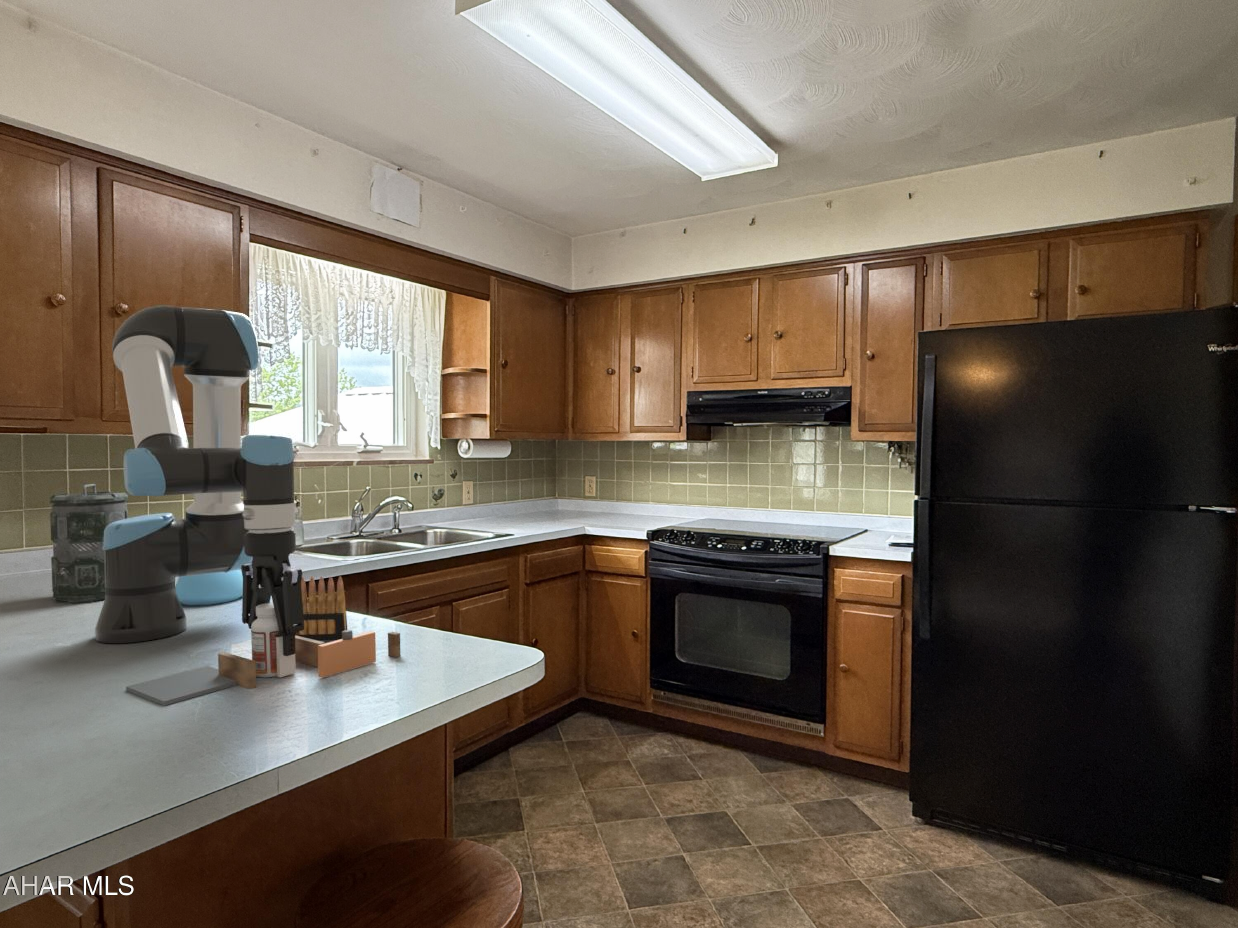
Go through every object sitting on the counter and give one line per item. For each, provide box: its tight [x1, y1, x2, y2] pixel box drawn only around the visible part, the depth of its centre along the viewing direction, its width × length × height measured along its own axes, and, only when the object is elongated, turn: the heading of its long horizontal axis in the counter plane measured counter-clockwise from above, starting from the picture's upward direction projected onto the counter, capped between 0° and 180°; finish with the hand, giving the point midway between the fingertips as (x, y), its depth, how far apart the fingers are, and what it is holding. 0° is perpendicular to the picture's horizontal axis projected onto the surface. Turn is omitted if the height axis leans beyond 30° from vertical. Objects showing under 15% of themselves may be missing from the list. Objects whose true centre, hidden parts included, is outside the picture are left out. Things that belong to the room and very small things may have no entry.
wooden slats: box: [217, 631, 401, 689], centre depth 121 cm, size 15×24×4 cm, turn 146°
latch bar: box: [317, 629, 377, 679], centre depth 119 cm, size 2×10×6 cm, turn 146°
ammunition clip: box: [295, 575, 348, 642], centre depth 138 cm, size 11×2×12 cm, turn 93°
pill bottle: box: [250, 601, 286, 679], centre depth 118 cm, size 6×6×11 cm
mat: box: [125, 665, 238, 706], centre depth 112 cm, size 12×12×1 cm
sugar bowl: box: [175, 569, 243, 606], centre depth 175 cm, size 15×15×12 cm
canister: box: [49, 483, 130, 604], centre depth 180 cm, size 16×16×28 cm
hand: (273, 670), depth 118 cm, fingers open, 6 cm apart
